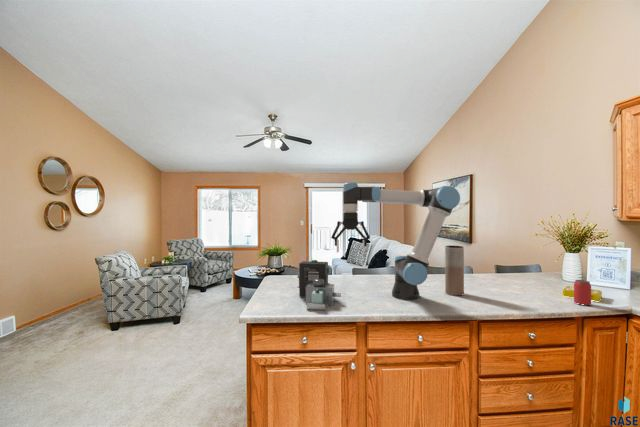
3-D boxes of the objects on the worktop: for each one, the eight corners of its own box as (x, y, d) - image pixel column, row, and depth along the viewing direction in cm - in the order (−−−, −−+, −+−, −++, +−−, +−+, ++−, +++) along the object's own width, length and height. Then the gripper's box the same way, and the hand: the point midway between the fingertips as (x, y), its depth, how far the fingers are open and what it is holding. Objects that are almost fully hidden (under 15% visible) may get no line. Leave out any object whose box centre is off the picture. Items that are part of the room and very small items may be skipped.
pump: (323, 304, 148) (323, 287, 148) (321, 308, 142) (321, 290, 142) (313, 303, 149) (313, 287, 149) (311, 307, 143) (311, 290, 143)
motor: (341, 301, 155) (341, 278, 155) (338, 311, 139) (338, 286, 139) (309, 299, 158) (308, 277, 158) (301, 309, 142) (301, 285, 142)
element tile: (598, 303, 151) (598, 294, 151) (561, 297, 163) (561, 289, 163) (602, 298, 161) (602, 289, 161) (567, 292, 172) (567, 284, 172)
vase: (464, 292, 171) (464, 246, 171) (462, 296, 163) (462, 247, 163) (446, 290, 176) (446, 245, 176) (444, 294, 168) (443, 246, 168)
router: (328, 298, 161) (328, 262, 161) (296, 296, 165) (296, 261, 165) (330, 294, 169) (330, 260, 169) (300, 292, 173) (300, 259, 173)
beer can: (587, 307, 145) (587, 283, 145) (571, 303, 150) (571, 280, 150) (593, 305, 148) (593, 281, 148) (577, 301, 154) (577, 279, 154)
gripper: (374, 212, 154) (374, 251, 154) (328, 212, 158) (328, 250, 158) (374, 212, 146) (374, 253, 146) (326, 212, 151) (326, 252, 151)
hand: (350, 252), depth 152 cm, fingers open, 13 cm apart
